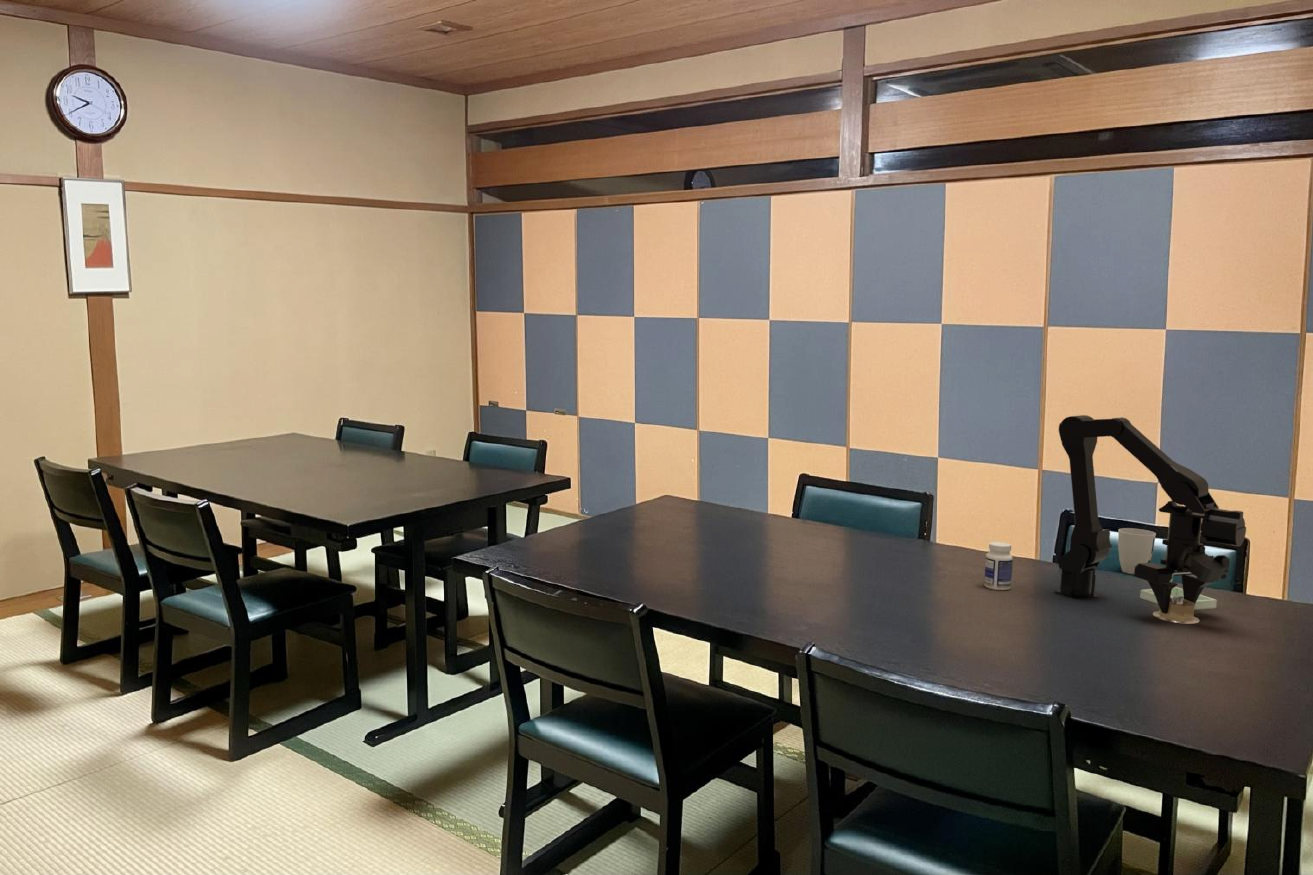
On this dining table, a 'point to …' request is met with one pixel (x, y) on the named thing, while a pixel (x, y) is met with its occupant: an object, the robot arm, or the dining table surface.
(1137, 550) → the cup
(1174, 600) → the clear stemmed base
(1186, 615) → the ring
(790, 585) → the dining table surface
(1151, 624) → the dining table surface
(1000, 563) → the pill bottle
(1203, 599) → the dish
